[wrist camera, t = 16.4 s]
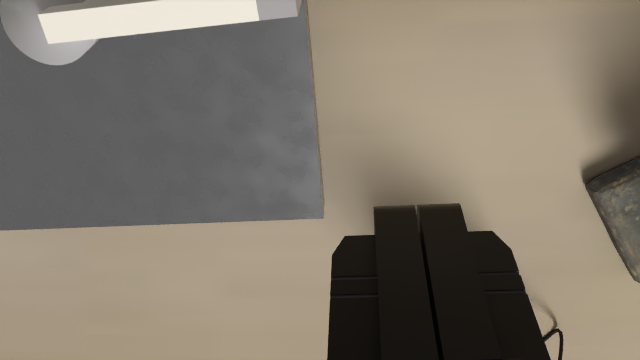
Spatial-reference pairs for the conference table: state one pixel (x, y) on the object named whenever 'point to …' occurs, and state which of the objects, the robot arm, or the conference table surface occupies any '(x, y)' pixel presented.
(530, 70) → the conference table surface
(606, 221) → the embossing press
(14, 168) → the levelling base
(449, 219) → the robot arm
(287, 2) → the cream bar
